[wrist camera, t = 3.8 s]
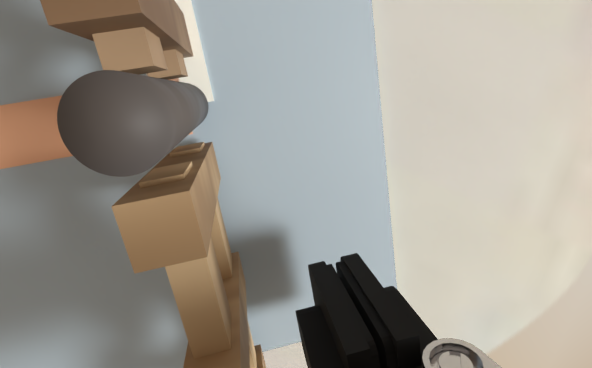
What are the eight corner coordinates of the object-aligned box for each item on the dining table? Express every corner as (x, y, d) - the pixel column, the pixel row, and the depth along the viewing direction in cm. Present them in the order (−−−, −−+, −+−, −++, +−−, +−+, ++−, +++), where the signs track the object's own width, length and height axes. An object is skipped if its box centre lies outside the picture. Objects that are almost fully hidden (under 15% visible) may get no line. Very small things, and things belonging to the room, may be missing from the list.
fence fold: (172, 145, 10) (109, 200, 5) (211, 138, 11) (187, 185, 5) (236, 377, 13) (236, 567, 8) (266, 368, 13) (286, 550, 8)
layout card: (-507, -292, 7) (-561, -320, 6) (337, -315, 9) (343, -338, 9) (-54, 428, 13) (-65, 441, 12) (395, 309, 15) (400, 316, 14)
